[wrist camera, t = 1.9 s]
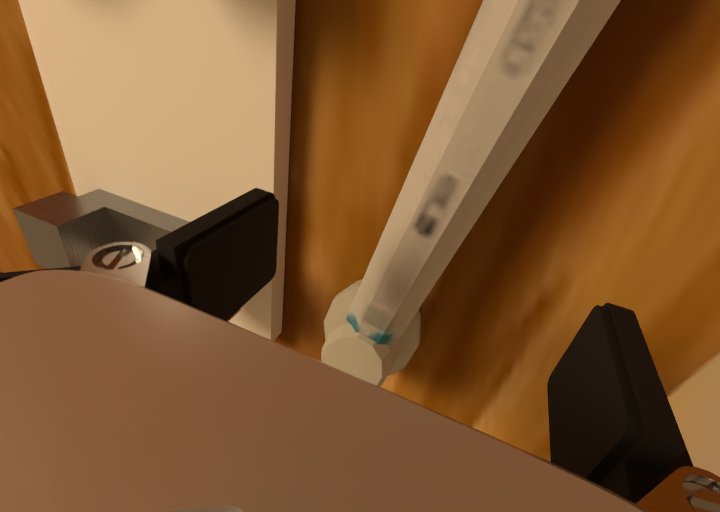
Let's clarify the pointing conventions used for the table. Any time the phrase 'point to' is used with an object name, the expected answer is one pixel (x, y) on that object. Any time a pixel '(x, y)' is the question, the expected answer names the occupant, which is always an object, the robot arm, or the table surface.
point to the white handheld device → (459, 171)
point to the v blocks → (88, 226)
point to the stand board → (174, 106)
